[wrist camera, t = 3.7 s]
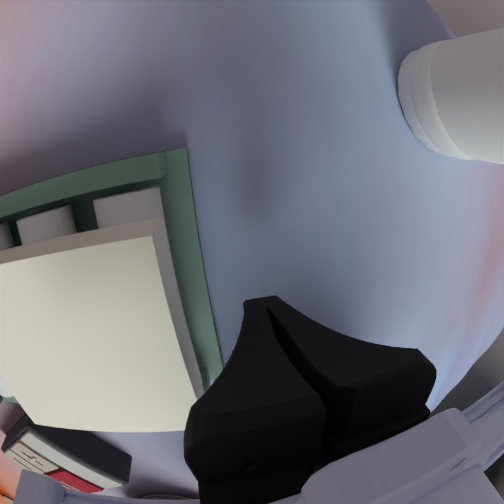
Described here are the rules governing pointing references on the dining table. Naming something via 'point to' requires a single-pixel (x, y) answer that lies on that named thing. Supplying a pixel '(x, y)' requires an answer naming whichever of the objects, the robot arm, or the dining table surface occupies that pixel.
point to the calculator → (67, 456)
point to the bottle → (457, 96)
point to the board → (97, 331)
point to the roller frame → (117, 213)
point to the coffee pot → (165, 497)
